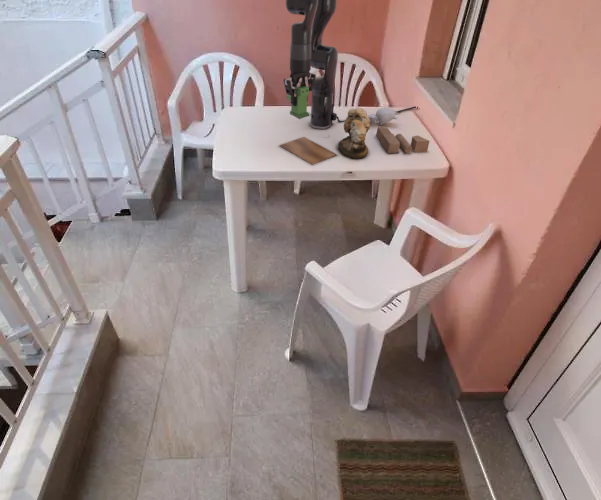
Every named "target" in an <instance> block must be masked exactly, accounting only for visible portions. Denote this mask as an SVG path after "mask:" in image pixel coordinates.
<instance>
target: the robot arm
mask: <svg viewBox="0 0 601 500" xmlns="http://www.w3.org/2000/svg"><path fill="white" fill-rule="evenodd" d="M337 4H338V0H285V7H286V10H287V12H288V13H289V14H291V15H298V16H304V19H303V21H296V22H294V23H292V24H291V26H290V48H289V71H290V75H289V76H288V78H283V85H284V89H285V94H286V95H290V96H291V101H290V104H292V106H297V91H298V88H300V86H307V87H309V92H311V104H310V112H309V117H310V123H309V126H310V127H311V128H313V129H317V130H326V129H329V128H331V126H333V123H334V122H335V121H337V122H339V123H345V122H344V121H345V120H341V119H340V118H339V116H338V114H337V113H336V112H334V109H335V108H334V107H335V103H333V101H334V88H335V81H336V73H337V68H338V67H337V66H338V60H339V53H338V49H337V48H336V47H335V46H331V45H325V44H323V36H324V32H325V29H326V28H327V26H328V24H329V23H330V21H331V19H332V18H333V16H334V14H335V13H336V10H337V6H338V5H337ZM312 68H313V69H316V70H319V71H320V70H321V71H324V72H323V75H319V76H317V75H316V74H315V73H313V72H310V71H311V69H312ZM294 86H296V87H294ZM294 90H295V91H294ZM308 98H309V95H307V102H308V100H309V99H308ZM416 106H417V105H416ZM416 106H412V107H408V108H403V109H400V110H395V111H396V112H397V113H401V112H404V111H405V112H406V111H410V110H413V109H417V110H419V109H418V107H419V106H417V108H416Z"/></svg>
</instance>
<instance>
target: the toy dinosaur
mask: <svg viewBox="0 0 601 500" xmlns="http://www.w3.org/2000/svg"><path fill="white" fill-rule="evenodd" d="M294 87H296V86H294ZM294 91H295V90H294ZM307 95H308V96H309V95H310V91H309V87H307V86H300V88H298V91H297V106H292V104H291V103H290V104H291V105H290V107H291V110H290V111H289V115H290V116H293V117H295V118H296V119H298V120H301V119H304V118H307V117H310V112H308V111H307V110H308V101H307ZM286 99H287V100H288V101H290V102H291V96H290V95H288V94H286Z"/></svg>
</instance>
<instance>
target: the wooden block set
mask: <svg viewBox="0 0 601 500" xmlns="http://www.w3.org/2000/svg"><path fill="white" fill-rule="evenodd" d="M375 135H376V137H377V138H378V140H379V141H380V142H381V143H380V144H381V146H382V147H383V149H384V150H385V152H386V153H387V154H398V153H399V150H400V148H401V149H402V150H403V151H404V153H406V154H409V153H411V152H413V153H428V150H429V144H430V140H428V139H426V138H424V137H422V136H420V135H413V136H412V137H411V142H410V143H409V141H407V139H406V138H405V136H404V135H403V134H401V133H396V134H394V133H392V132H391V130H390V129H389V128H388V127H385V126H382V125H380V126H377V127H376V133H375Z"/></svg>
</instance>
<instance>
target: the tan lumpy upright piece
mask: <svg viewBox="0 0 601 500" xmlns="http://www.w3.org/2000/svg"><path fill="white" fill-rule="evenodd" d="M367 115H368V113H367V111H366V110H365V109H364V108H362V107H356V108H350V109H349V110H348V111H347V116H346V118H345V120H343V121H344V122H343V130H344V133H345V134H348V135H347V136H346V137H344V138H342V139H341V140H340V141H339V142H338V145H337V148H338V151H339V152H340V154H342V155H343V156H344V157H346V158H349V159H352V160H362V159H365V158H366V157H367V156H368V154H369V148H368V146H367V145H366V137H367V133H368V132H369V131H370V126H371V125H370V123H371V122H370V119H369V118H368V117H367Z"/></svg>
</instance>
